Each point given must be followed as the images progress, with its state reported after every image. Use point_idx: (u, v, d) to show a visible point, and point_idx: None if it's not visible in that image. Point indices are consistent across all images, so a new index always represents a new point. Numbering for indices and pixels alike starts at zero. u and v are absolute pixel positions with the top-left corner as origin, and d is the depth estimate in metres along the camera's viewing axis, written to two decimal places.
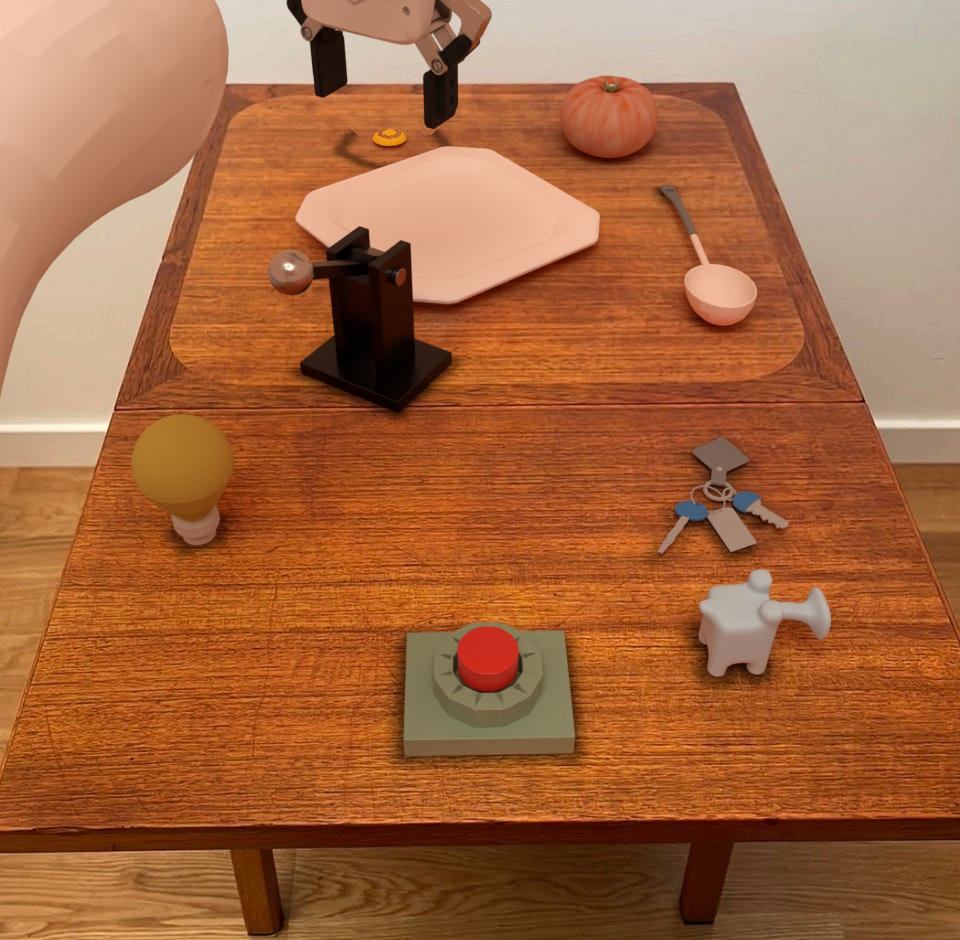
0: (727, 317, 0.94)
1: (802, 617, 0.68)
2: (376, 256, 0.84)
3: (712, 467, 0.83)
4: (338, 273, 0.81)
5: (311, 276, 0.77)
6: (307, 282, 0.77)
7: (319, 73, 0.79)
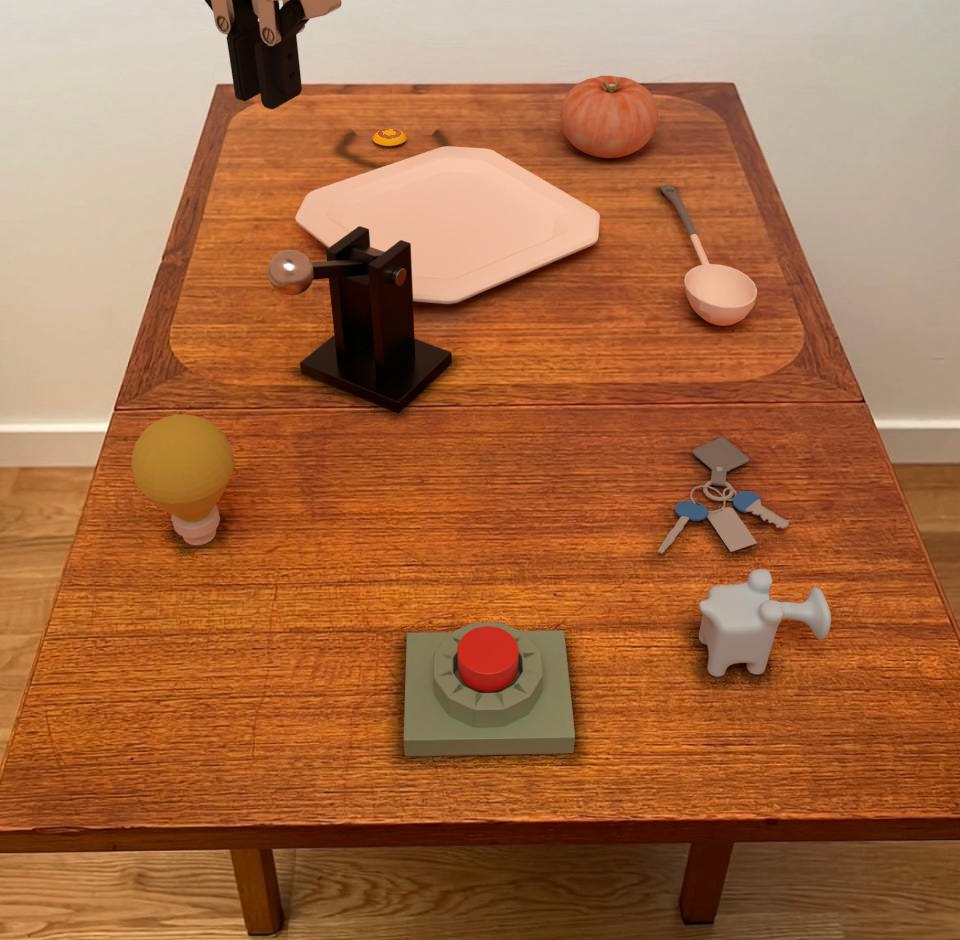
0: (727, 317, 0.94)
1: (802, 617, 0.68)
2: (376, 256, 0.84)
3: (712, 467, 0.83)
4: (338, 273, 0.81)
5: (311, 276, 0.77)
6: (307, 282, 0.77)
7: (239, 72, 0.67)
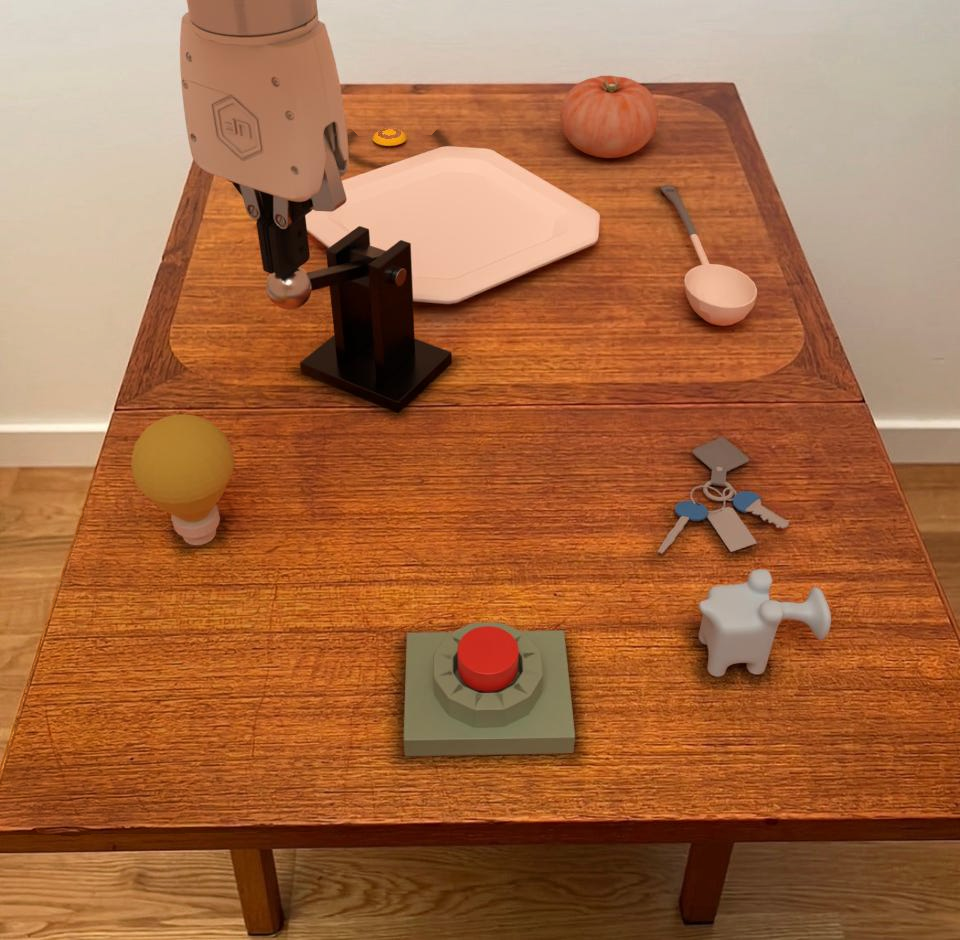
0: (727, 317, 0.94)
1: (802, 617, 0.68)
2: (375, 257, 0.84)
3: (712, 467, 0.83)
4: (337, 280, 0.82)
5: (309, 290, 0.77)
6: (305, 296, 0.77)
7: (267, 251, 0.75)
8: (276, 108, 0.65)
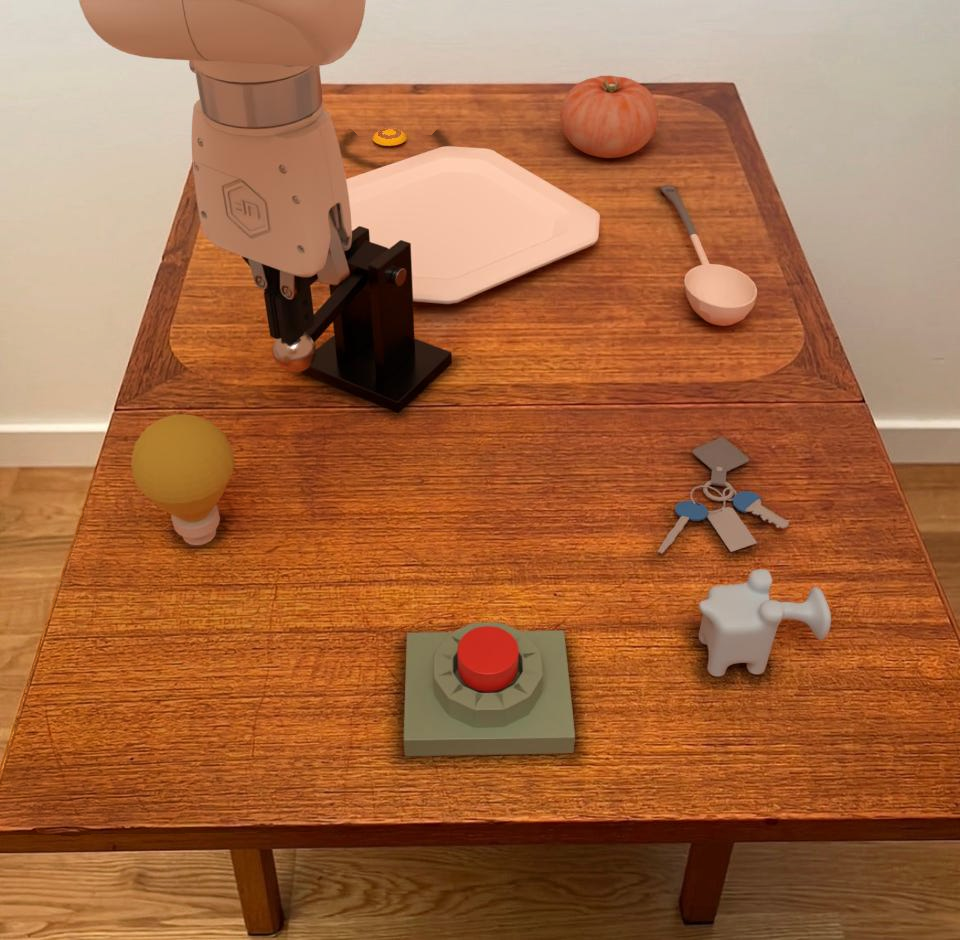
0: (727, 317, 0.94)
1: (802, 617, 0.68)
2: None
3: (712, 467, 0.83)
4: (339, 310, 0.83)
5: (313, 352, 0.81)
6: (311, 360, 0.81)
7: (273, 318, 0.78)
8: (283, 193, 0.68)
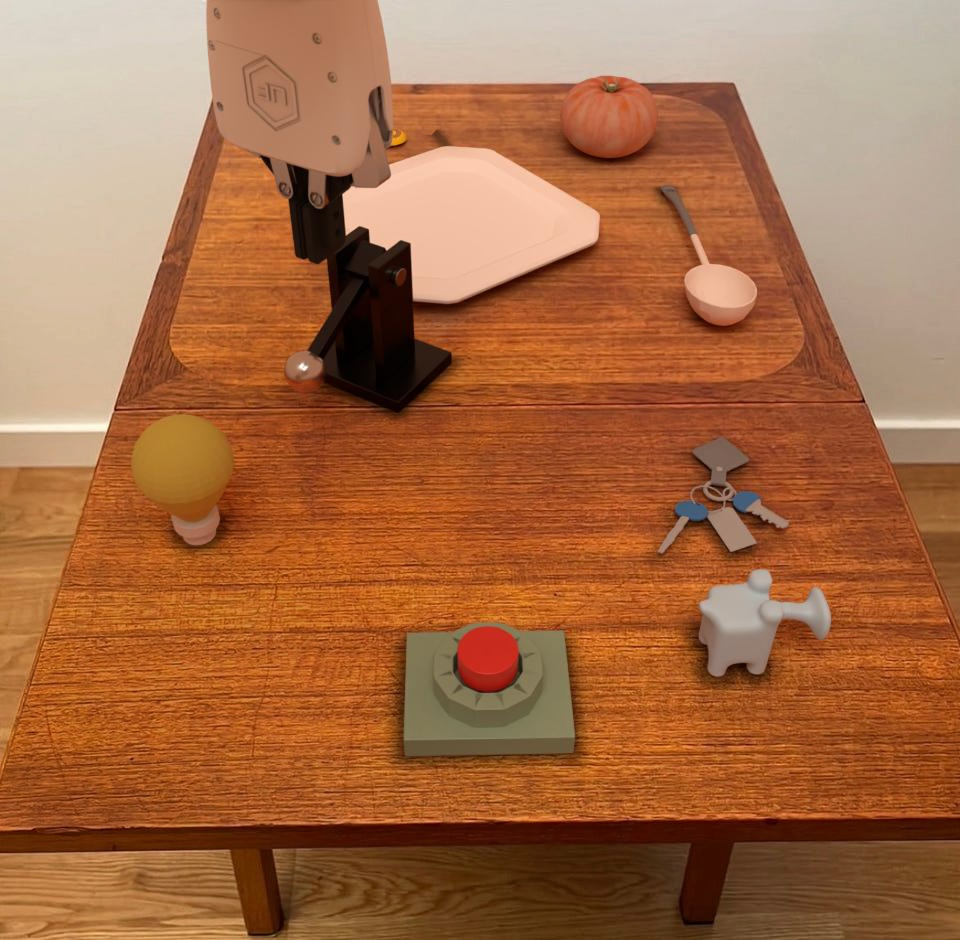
0: (727, 317, 0.94)
1: (802, 617, 0.68)
2: None
3: (712, 467, 0.83)
4: (344, 321, 0.85)
5: (323, 373, 0.83)
6: (322, 380, 0.83)
7: (300, 234, 0.67)
8: (317, 69, 0.58)
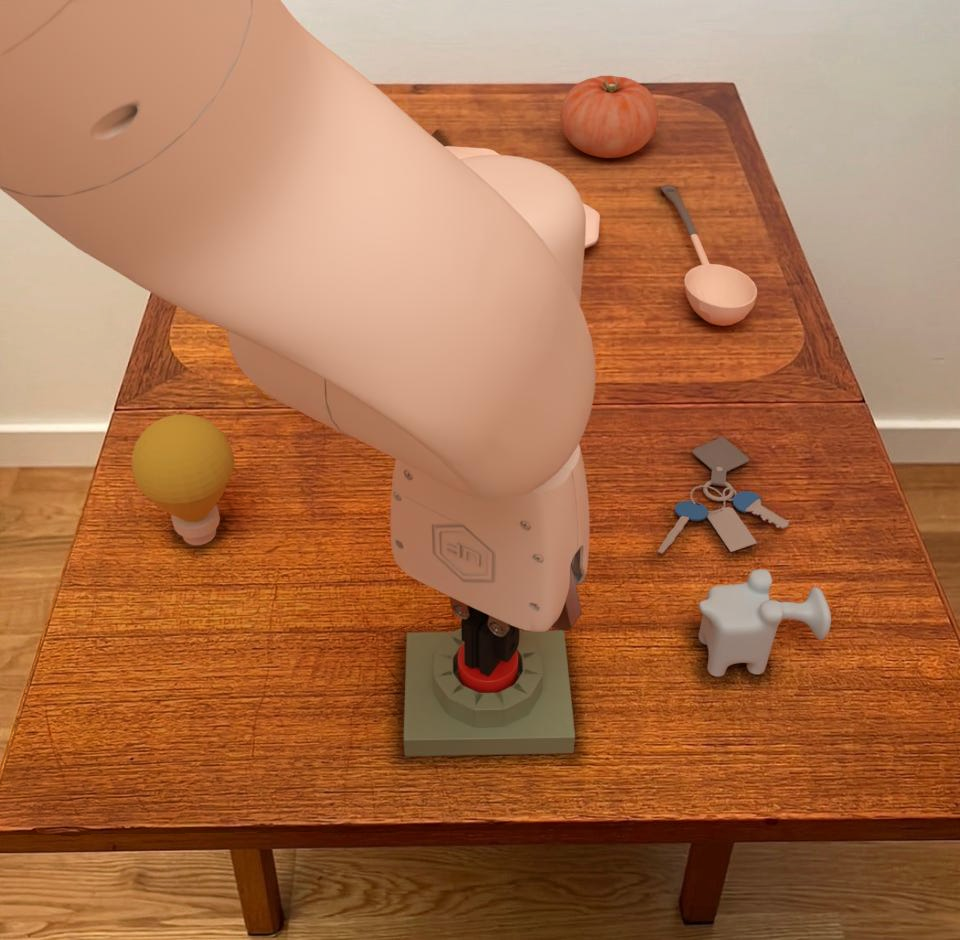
0: (727, 317, 0.94)
1: (802, 617, 0.68)
2: None
3: (712, 467, 0.83)
4: None
5: None
6: None
7: (473, 649, 0.63)
8: (521, 549, 0.53)
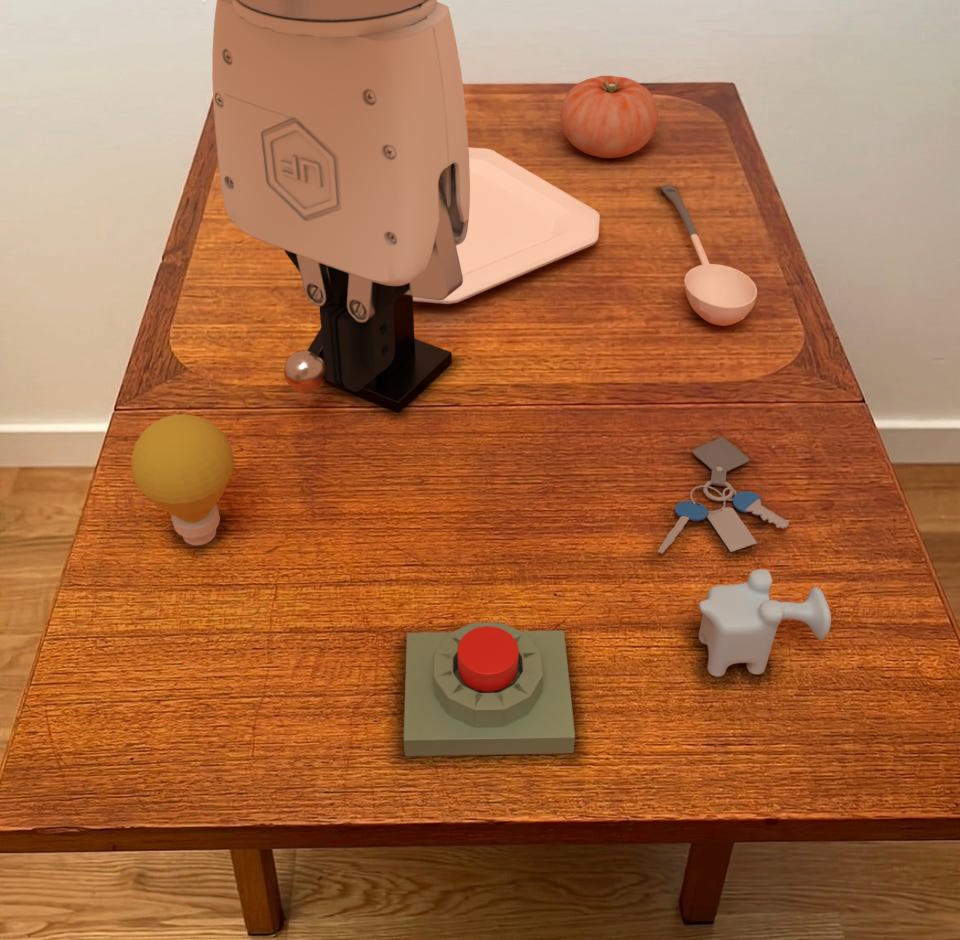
0: (727, 317, 0.94)
1: (802, 617, 0.68)
2: None
3: (712, 467, 0.83)
4: None
5: (323, 373, 0.83)
6: (322, 380, 0.83)
7: (333, 352, 0.50)
8: (367, 140, 0.40)
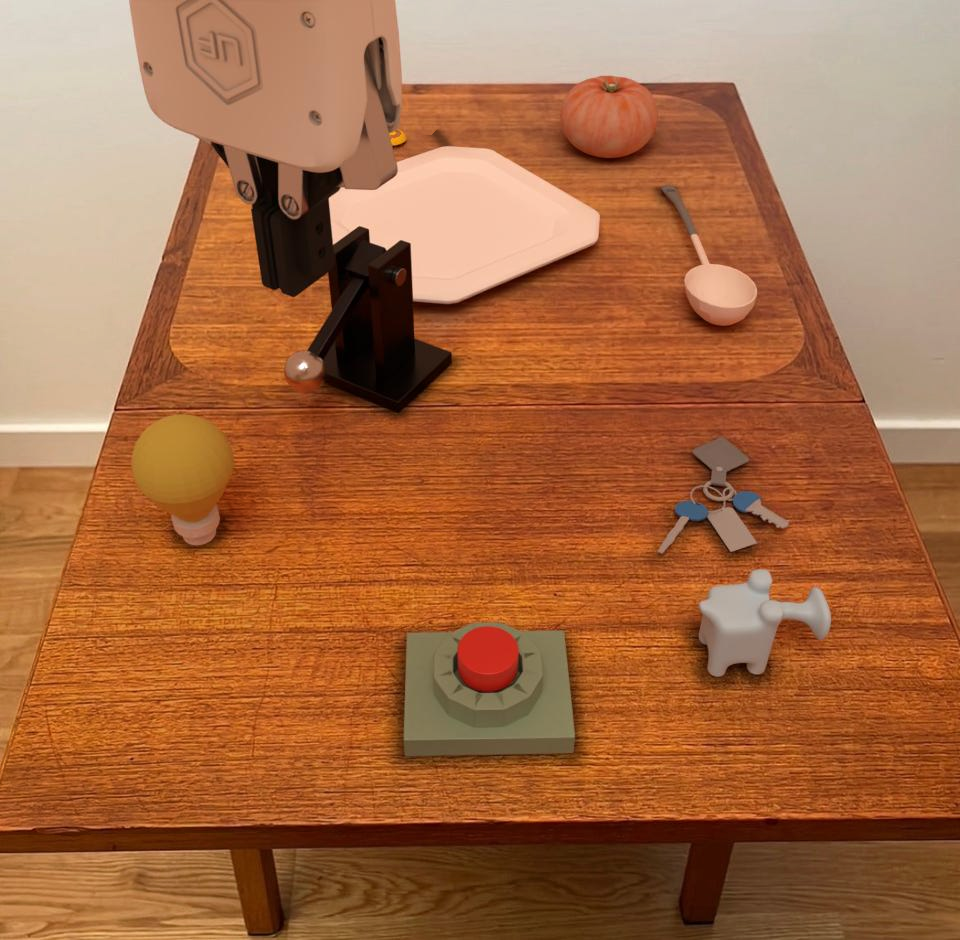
0: (727, 317, 0.94)
1: (802, 617, 0.68)
2: None
3: (712, 467, 0.83)
4: (344, 321, 0.85)
5: (323, 373, 0.83)
6: (322, 380, 0.83)
7: (268, 254, 0.47)
8: (285, 7, 0.38)
